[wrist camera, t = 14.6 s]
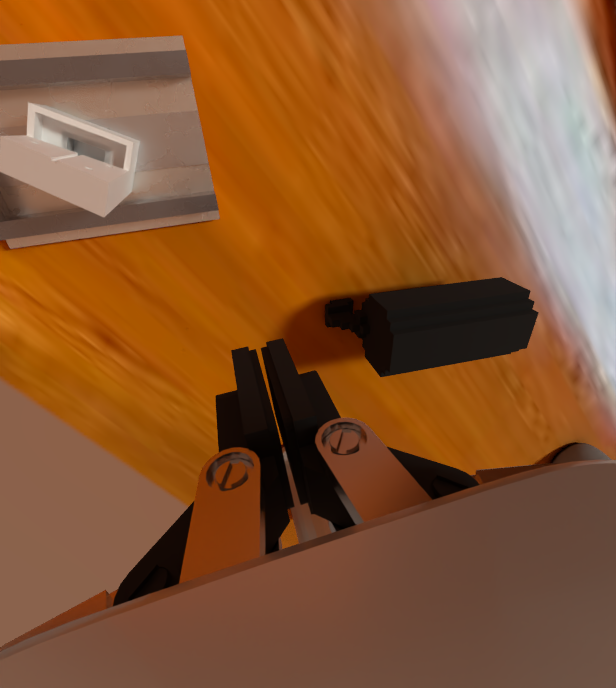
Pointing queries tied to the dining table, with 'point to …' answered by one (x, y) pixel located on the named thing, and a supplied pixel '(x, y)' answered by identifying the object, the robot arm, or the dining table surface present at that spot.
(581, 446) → the smart speaker
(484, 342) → the security camera
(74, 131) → the white wedge bracket
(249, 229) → the dining table surface
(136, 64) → the rail board
